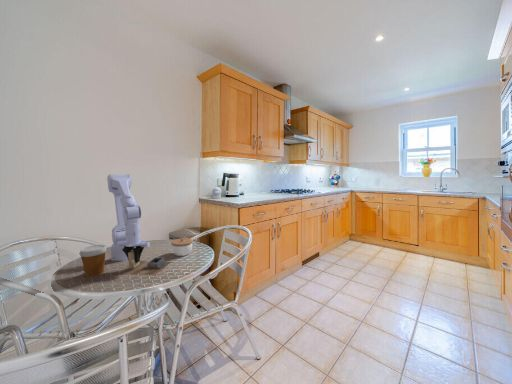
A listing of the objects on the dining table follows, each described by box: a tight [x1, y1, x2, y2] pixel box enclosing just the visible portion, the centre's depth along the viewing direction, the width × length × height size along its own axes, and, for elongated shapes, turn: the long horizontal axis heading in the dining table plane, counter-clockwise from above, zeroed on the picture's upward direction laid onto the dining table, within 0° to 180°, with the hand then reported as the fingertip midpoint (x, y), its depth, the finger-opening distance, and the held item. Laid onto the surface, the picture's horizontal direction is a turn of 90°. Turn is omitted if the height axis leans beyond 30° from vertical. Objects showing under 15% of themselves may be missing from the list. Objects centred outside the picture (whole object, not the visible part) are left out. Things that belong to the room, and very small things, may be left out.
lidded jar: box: [171, 237, 193, 257], centre depth 117 cm, size 11×11×9 cm
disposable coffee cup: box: [78, 244, 108, 278], centre depth 94 cm, size 10×10×12 cm
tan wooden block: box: [128, 250, 141, 268], centre depth 98 cm, size 2×4×7 cm, turn 176°
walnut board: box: [116, 260, 172, 276], centre depth 100 cm, size 18×14×1 cm
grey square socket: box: [145, 257, 168, 269], centre depth 101 cm, size 7×7×3 cm
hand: (134, 261), depth 98 cm, fingers closed on tan wooden block, 2 cm apart
